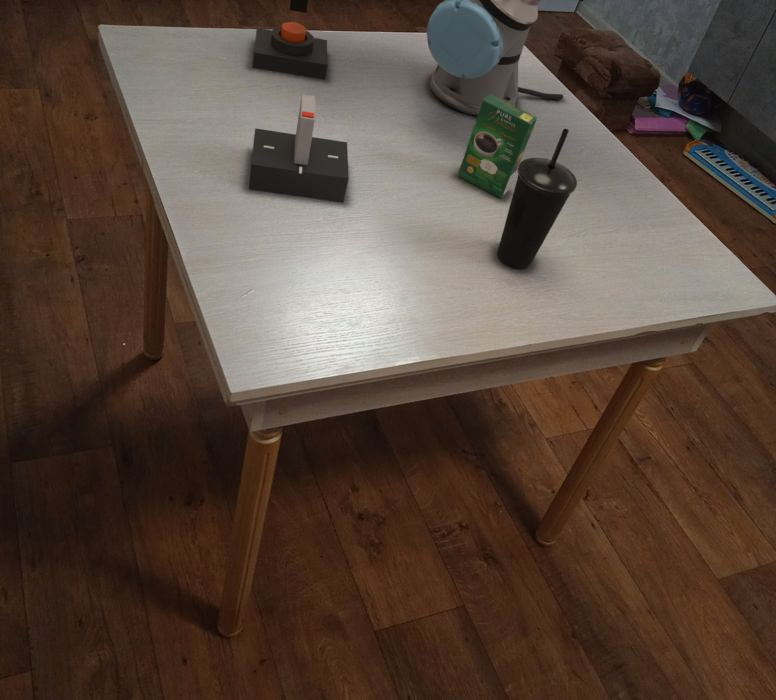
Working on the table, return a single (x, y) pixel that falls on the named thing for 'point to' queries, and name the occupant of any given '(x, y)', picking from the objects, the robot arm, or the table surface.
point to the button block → (290, 54)
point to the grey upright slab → (304, 129)
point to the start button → (293, 32)
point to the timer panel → (299, 167)
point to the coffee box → (496, 145)
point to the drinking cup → (534, 207)
